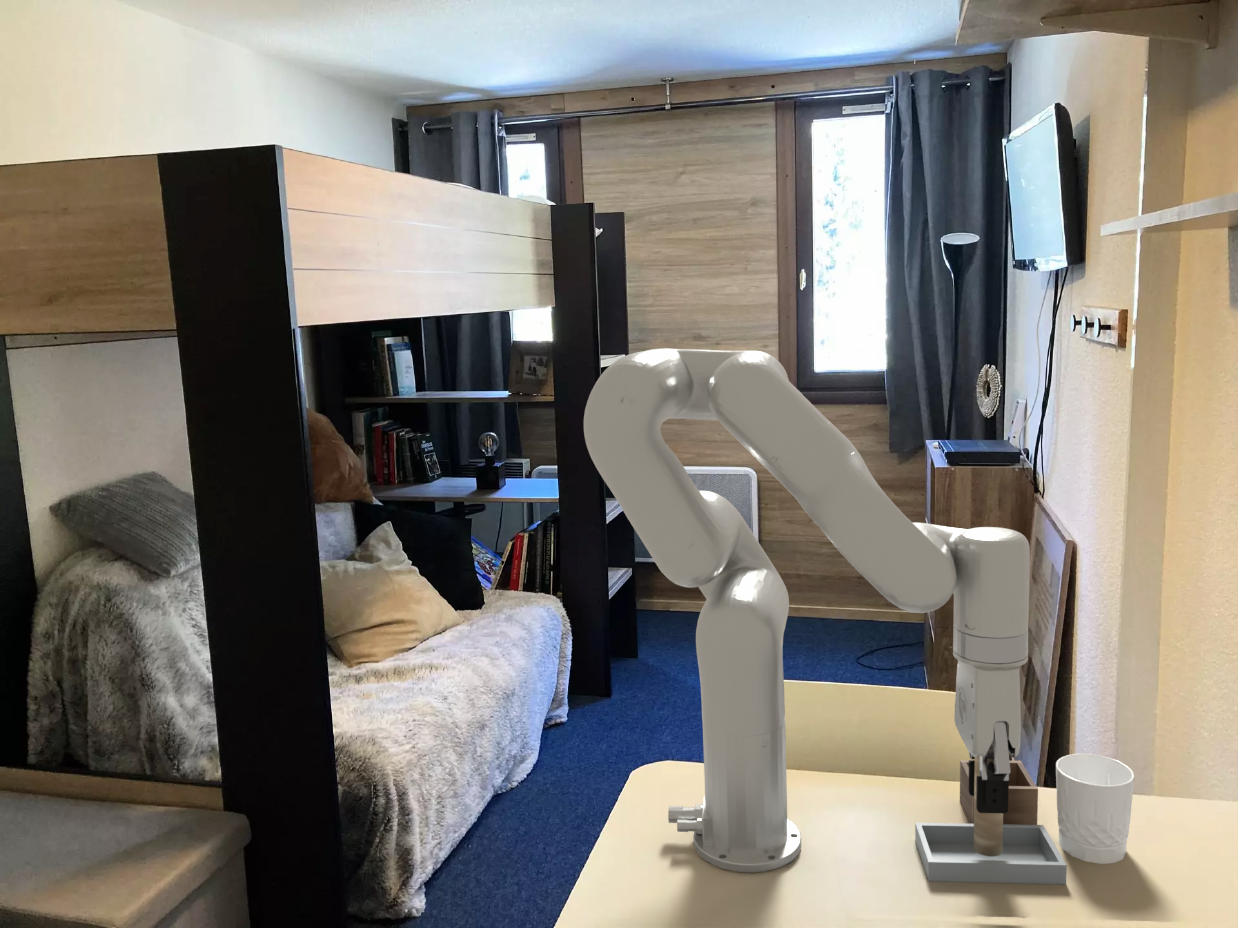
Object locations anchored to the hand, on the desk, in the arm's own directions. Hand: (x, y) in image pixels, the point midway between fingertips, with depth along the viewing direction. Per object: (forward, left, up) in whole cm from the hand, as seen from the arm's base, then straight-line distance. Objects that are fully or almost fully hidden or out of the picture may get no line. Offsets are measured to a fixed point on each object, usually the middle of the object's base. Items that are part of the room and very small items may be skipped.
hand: (987, 801), depth 109 cm
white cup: (+12, +3, -8) cm, 15 cm away
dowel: (0, 0, -6) cm, 6 cm away
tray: (0, 0, -8) cm, 8 cm away
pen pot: (+4, +10, -8) cm, 13 cm away
